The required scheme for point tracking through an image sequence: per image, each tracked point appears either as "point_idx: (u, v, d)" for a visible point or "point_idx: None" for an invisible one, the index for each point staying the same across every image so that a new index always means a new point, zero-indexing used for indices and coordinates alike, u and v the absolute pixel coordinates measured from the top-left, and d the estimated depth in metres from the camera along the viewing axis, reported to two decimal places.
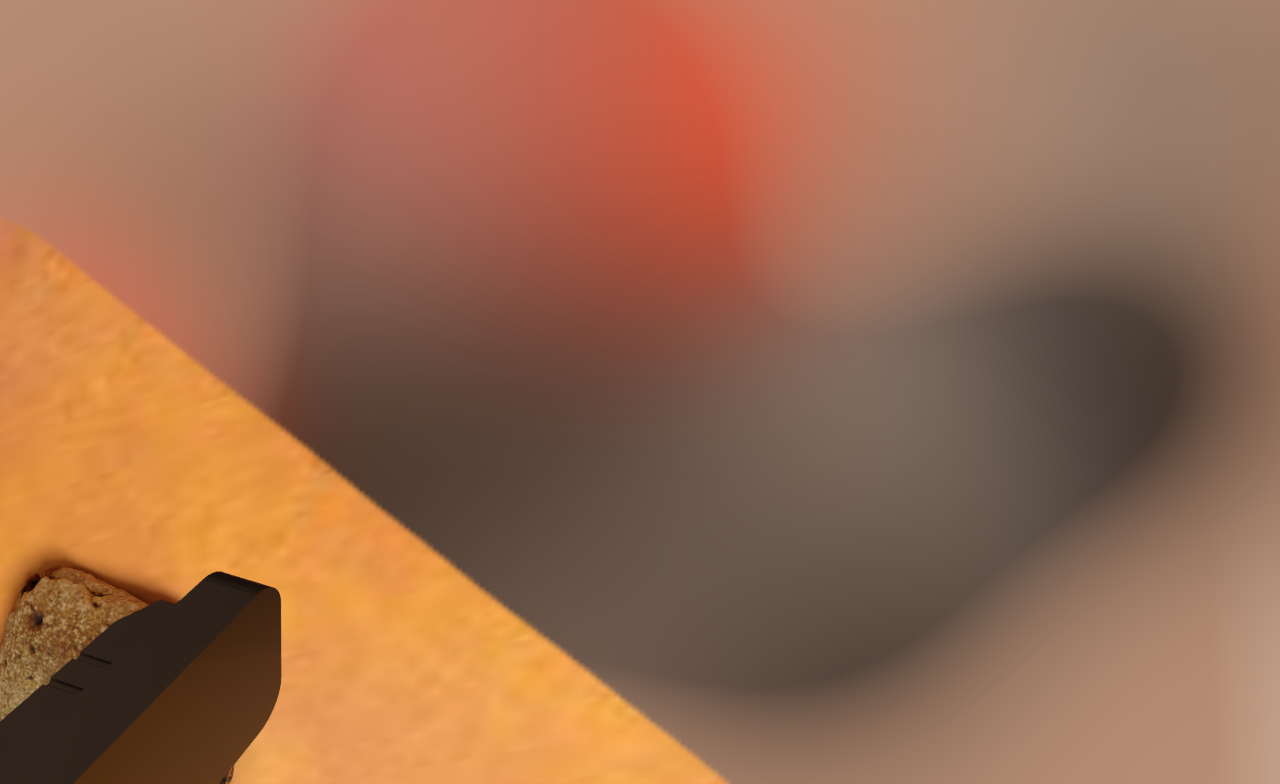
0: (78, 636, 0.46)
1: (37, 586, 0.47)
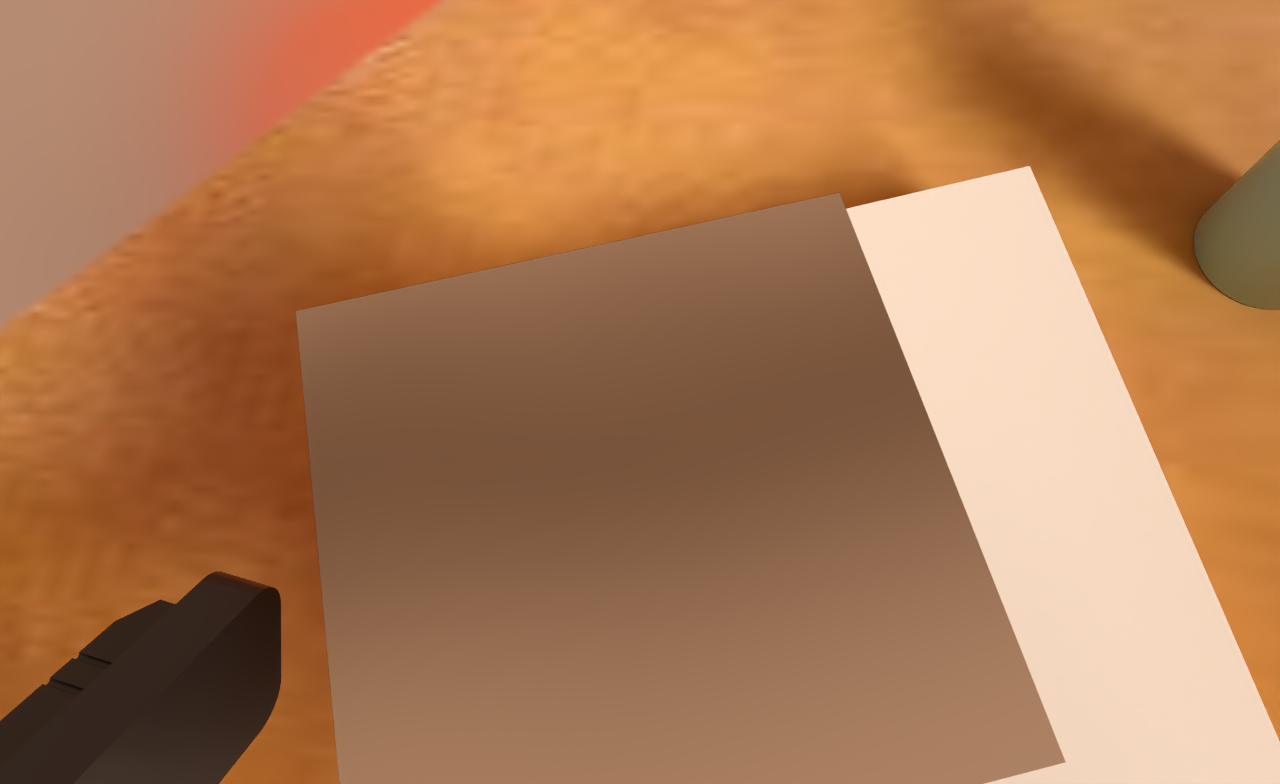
0: None
1: None
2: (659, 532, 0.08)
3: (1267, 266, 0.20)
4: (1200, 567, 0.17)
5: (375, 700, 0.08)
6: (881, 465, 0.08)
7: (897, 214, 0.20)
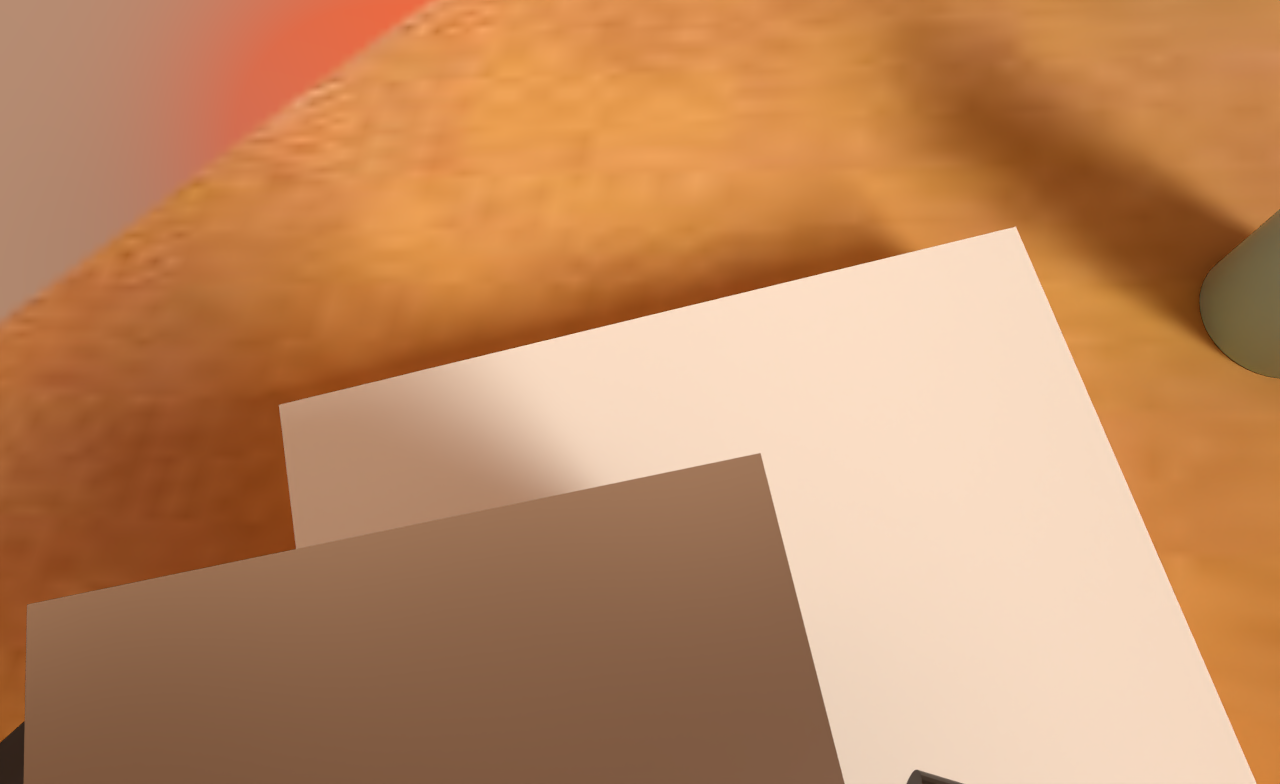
0: None
1: None
2: None
3: None
4: (1213, 695, 0.15)
5: None
6: None
7: (868, 282, 0.17)
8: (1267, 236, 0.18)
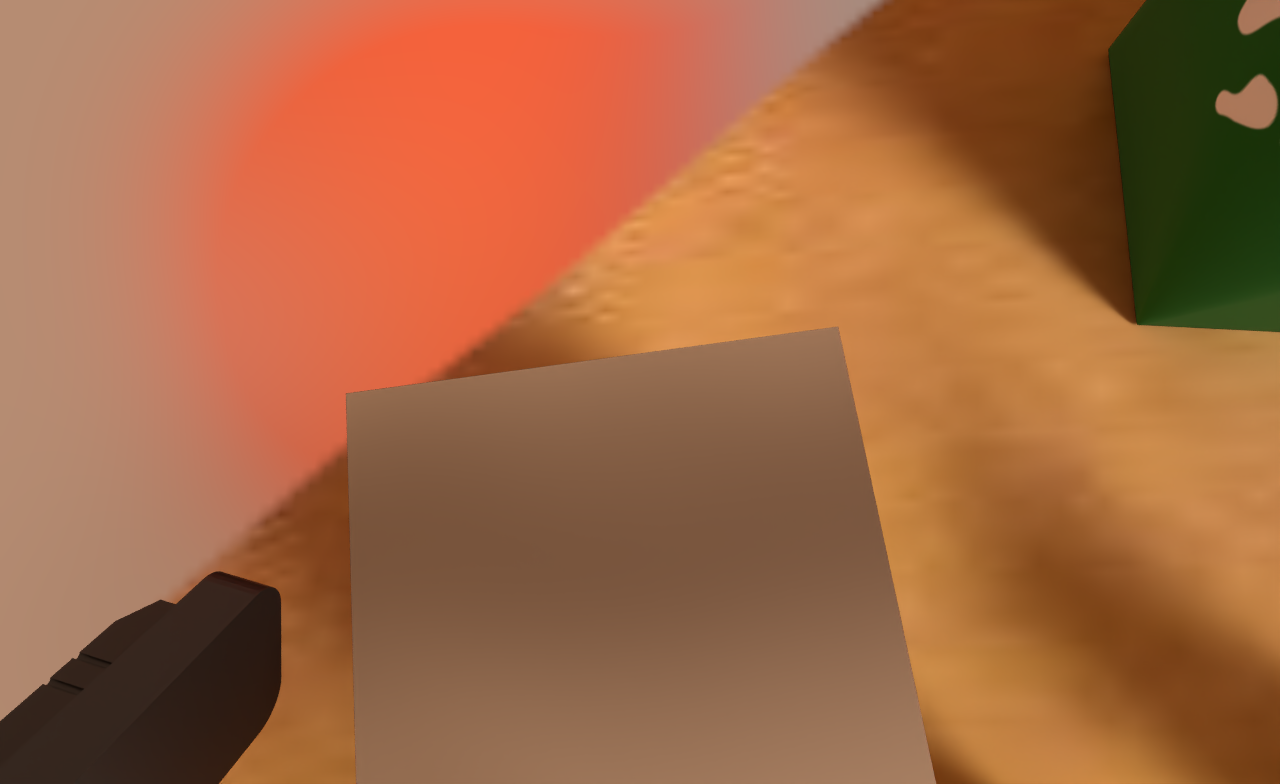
0: None
1: None
2: (640, 633, 0.10)
3: None
4: None
5: (390, 753, 0.09)
6: (838, 594, 0.10)
7: None
8: None
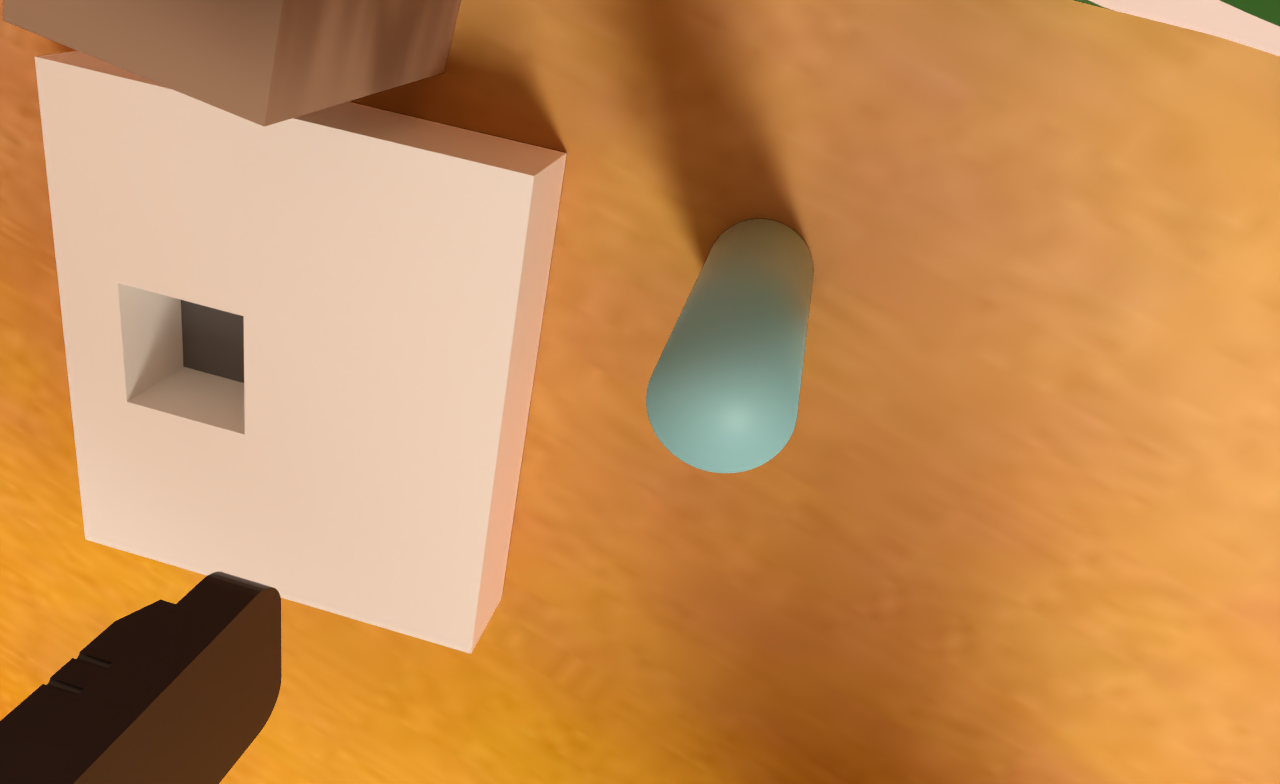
0: None
1: None
2: None
3: None
4: (494, 462, 0.28)
5: None
6: None
7: (420, 164, 0.24)
8: (710, 258, 0.24)
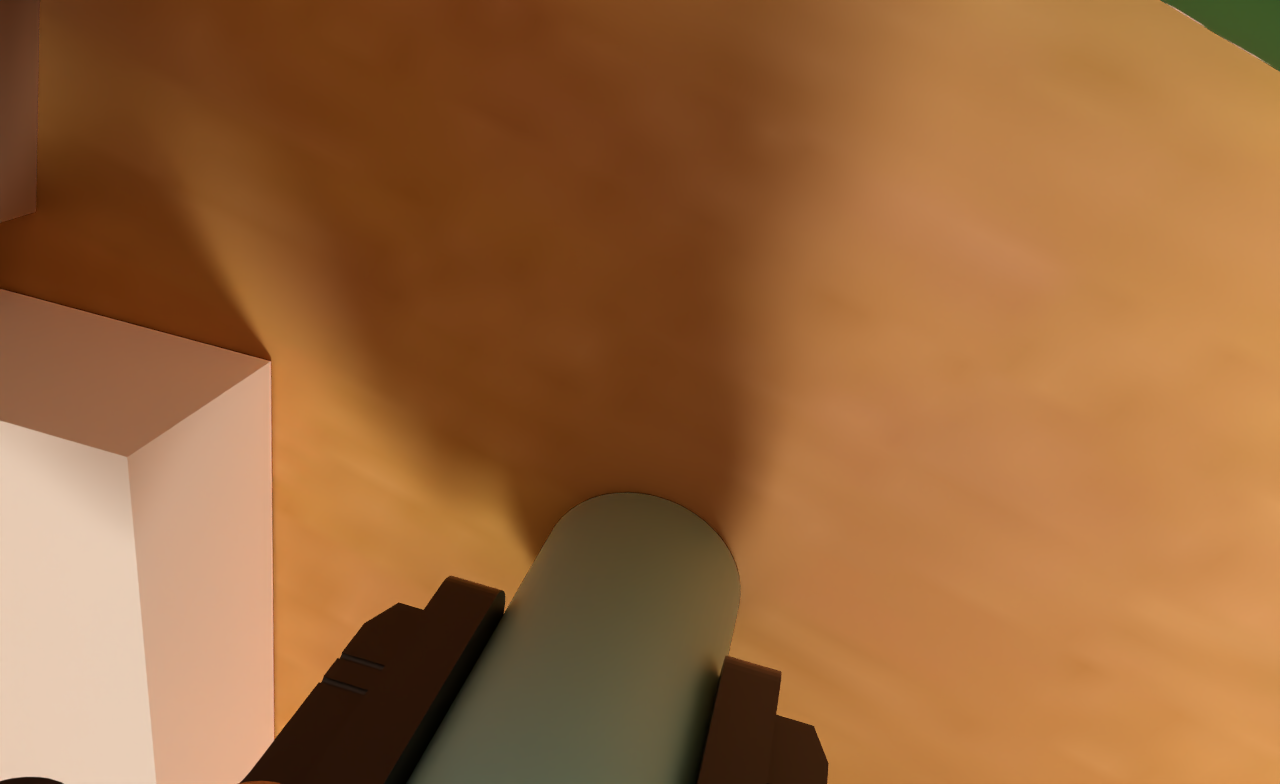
0: None
1: None
2: None
3: None
4: None
5: None
6: None
7: None
8: (506, 618, 0.12)
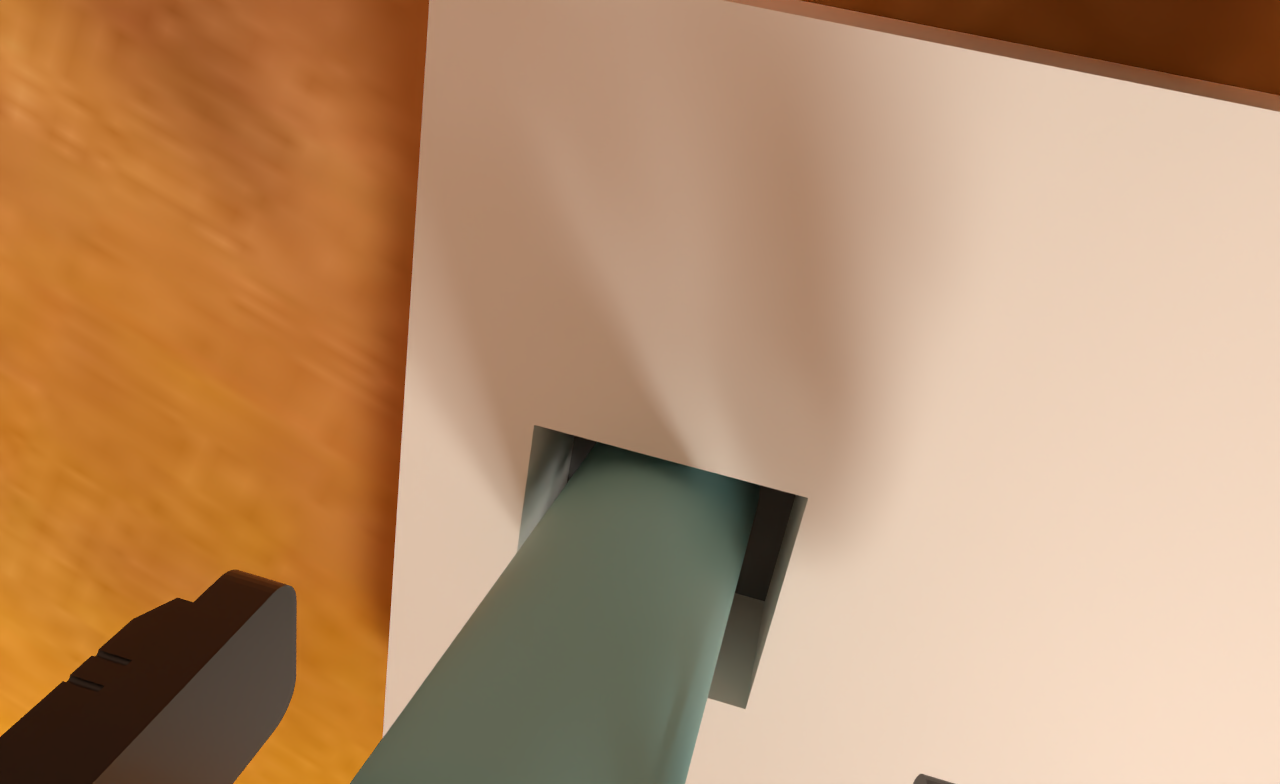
0: None
1: None
2: None
3: None
4: None
5: None
6: None
7: None
8: (571, 480, 0.14)
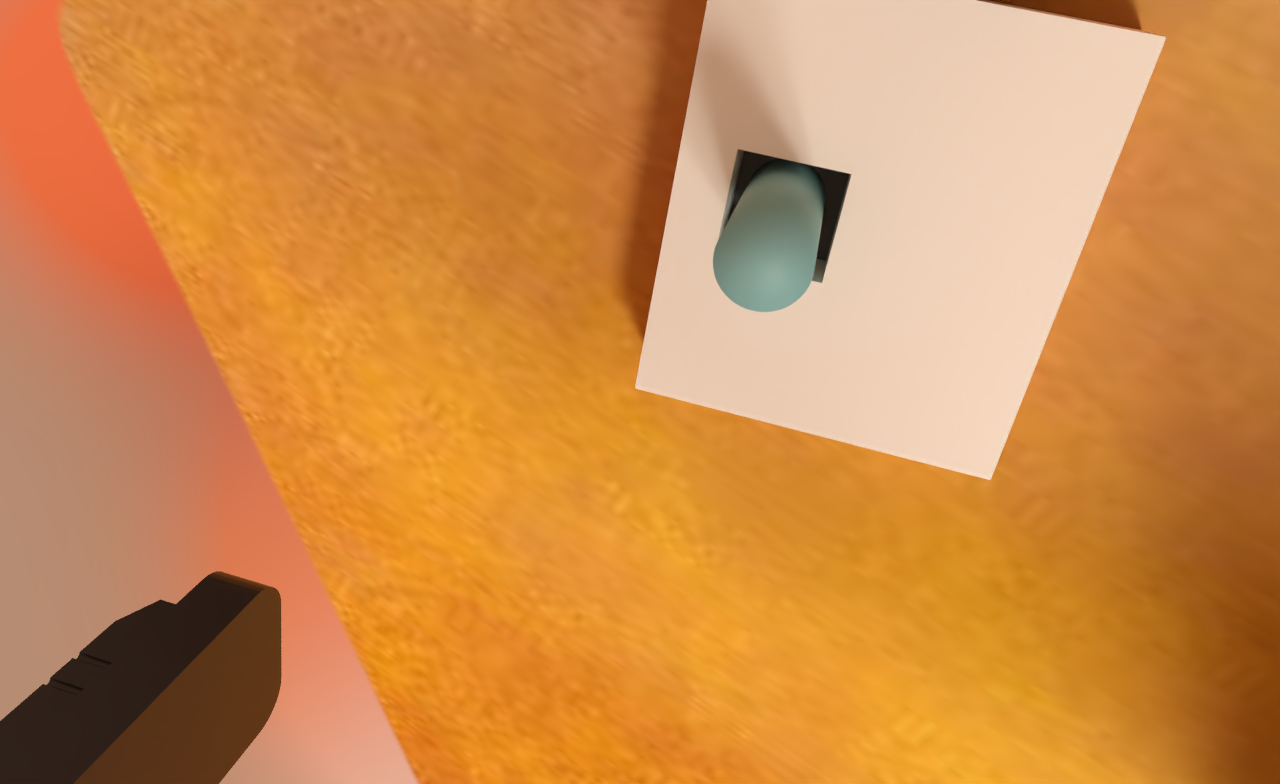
0: None
1: None
2: None
3: None
4: (1060, 298, 0.32)
5: None
6: None
7: (1060, 31, 0.29)
8: (750, 183, 0.34)
